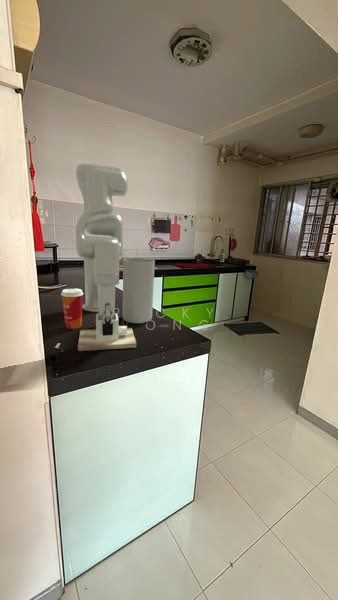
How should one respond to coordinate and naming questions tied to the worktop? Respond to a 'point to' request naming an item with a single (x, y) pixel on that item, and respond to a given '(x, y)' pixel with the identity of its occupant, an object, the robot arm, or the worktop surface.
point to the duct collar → (116, 328)
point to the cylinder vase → (138, 289)
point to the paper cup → (72, 307)
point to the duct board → (89, 341)
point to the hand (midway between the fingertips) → (107, 329)
